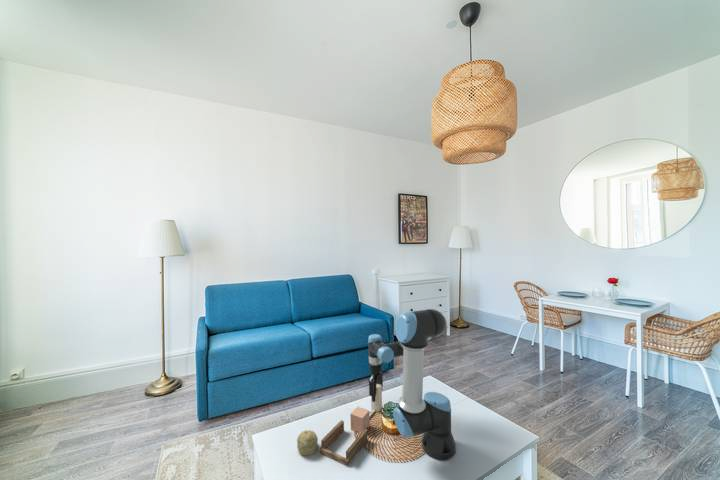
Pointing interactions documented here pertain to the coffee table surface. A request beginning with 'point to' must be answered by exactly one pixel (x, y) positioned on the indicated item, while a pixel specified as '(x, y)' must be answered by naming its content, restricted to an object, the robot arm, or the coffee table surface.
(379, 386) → the pair of rectangular blocks
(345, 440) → the coffee table surface
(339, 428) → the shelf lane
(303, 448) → the decorative object
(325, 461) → the coffee table surface
